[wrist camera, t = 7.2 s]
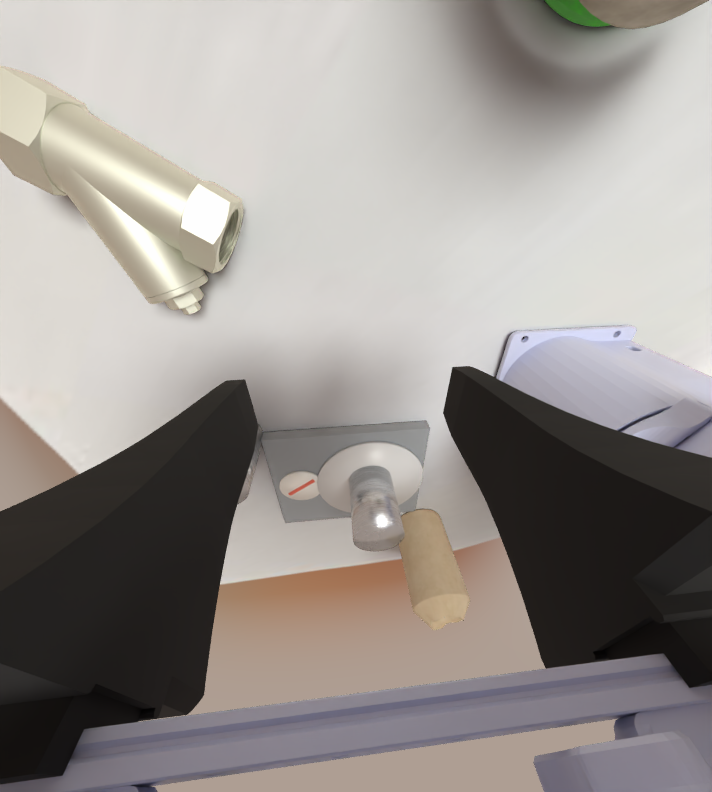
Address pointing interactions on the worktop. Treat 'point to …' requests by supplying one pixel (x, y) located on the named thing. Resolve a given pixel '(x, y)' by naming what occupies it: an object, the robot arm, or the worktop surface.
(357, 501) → the cylinder
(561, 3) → the multicoloured stacked round part
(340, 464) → the scale
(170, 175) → the pipe fitting
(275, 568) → the worktop surface
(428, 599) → the candle
